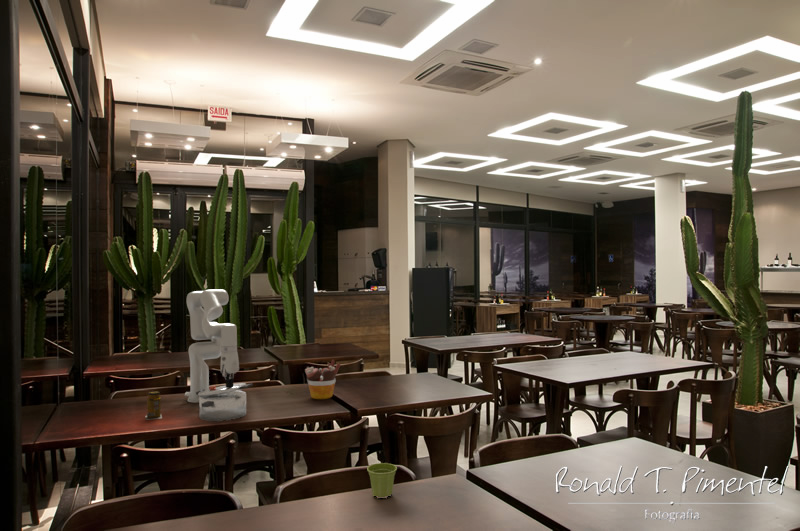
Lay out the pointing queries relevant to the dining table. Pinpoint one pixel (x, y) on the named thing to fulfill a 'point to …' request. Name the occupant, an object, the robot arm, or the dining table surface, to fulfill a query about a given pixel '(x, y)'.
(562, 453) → the dining table surface
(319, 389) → the bucket of meat
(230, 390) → the cooker lid
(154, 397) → the condiment
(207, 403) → the cooker pot
